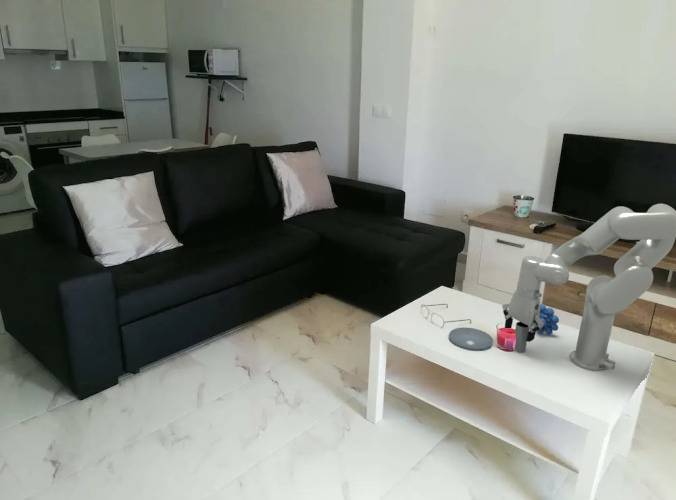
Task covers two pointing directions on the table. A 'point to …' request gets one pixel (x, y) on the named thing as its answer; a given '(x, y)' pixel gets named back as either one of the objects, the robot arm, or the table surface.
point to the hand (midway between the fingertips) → (518, 334)
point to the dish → (471, 339)
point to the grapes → (548, 320)
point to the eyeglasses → (440, 316)
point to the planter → (521, 337)
